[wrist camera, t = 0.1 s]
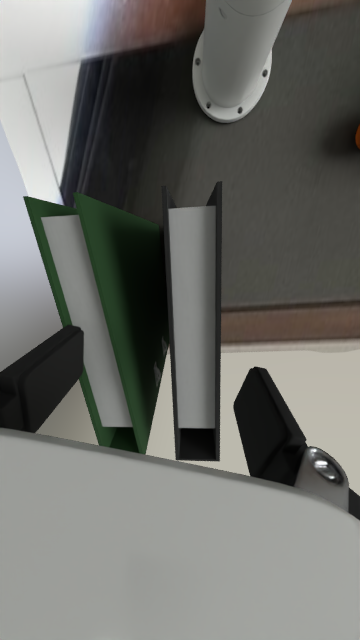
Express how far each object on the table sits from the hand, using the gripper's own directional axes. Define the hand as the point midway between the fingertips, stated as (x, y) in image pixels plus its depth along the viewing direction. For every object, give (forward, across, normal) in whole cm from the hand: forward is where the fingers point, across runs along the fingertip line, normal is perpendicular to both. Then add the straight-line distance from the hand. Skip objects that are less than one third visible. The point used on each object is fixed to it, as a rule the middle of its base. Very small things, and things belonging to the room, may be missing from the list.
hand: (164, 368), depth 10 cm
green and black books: (+38, +1, +5) cm, 38 cm away
